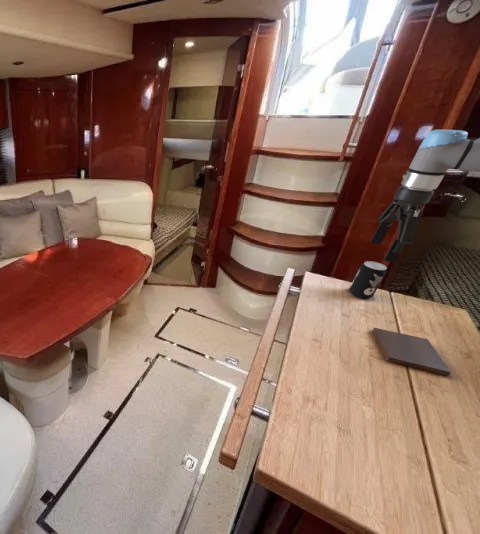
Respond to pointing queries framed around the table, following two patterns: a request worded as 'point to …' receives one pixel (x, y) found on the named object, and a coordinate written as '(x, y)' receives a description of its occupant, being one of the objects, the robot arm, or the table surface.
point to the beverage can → (367, 279)
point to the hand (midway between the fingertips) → (381, 251)
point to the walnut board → (410, 351)
